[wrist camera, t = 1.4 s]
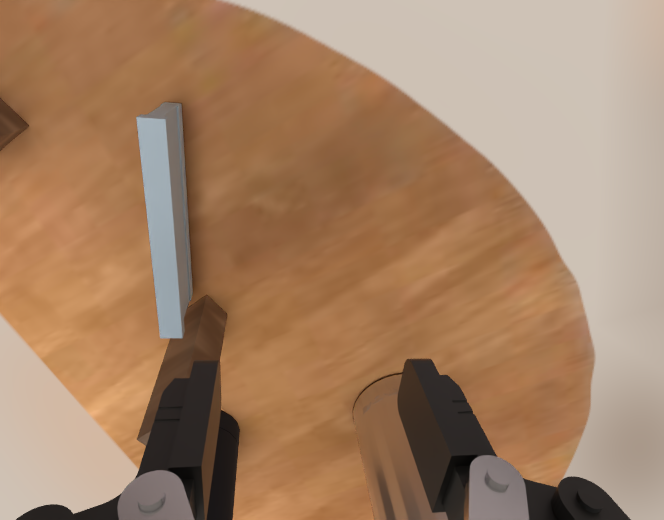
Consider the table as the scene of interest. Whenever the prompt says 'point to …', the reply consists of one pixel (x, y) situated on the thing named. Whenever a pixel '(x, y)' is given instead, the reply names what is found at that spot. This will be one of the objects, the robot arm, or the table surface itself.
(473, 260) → the table surface
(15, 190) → the table surface
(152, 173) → the gate
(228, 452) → the black water bottle
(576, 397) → the table surface
